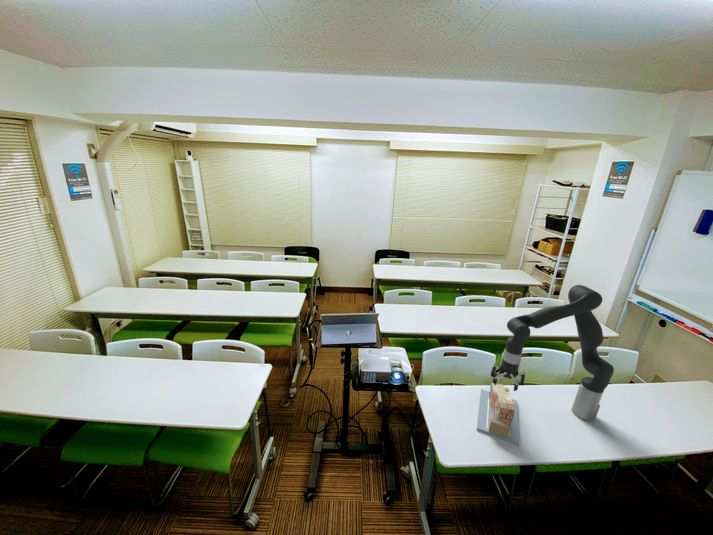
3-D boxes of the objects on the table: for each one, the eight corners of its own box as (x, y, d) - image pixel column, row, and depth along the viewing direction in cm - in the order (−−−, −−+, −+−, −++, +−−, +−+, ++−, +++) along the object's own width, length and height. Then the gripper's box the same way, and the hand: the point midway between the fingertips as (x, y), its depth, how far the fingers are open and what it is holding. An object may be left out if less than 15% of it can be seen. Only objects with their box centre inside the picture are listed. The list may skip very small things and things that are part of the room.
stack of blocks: (488, 396, 158) (492, 377, 154) (500, 399, 156) (504, 380, 153) (495, 427, 138) (500, 406, 134) (509, 430, 136) (515, 409, 133)
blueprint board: (516, 402, 156) (519, 391, 154) (519, 445, 130) (522, 433, 128) (480, 390, 163) (483, 380, 161) (476, 429, 138) (479, 417, 135)
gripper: (527, 359, 137) (520, 387, 142) (495, 350, 143) (489, 378, 148) (528, 368, 131) (521, 397, 136) (494, 358, 136) (488, 386, 141)
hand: (504, 387), depth 142 cm, fingers open, 8 cm apart
